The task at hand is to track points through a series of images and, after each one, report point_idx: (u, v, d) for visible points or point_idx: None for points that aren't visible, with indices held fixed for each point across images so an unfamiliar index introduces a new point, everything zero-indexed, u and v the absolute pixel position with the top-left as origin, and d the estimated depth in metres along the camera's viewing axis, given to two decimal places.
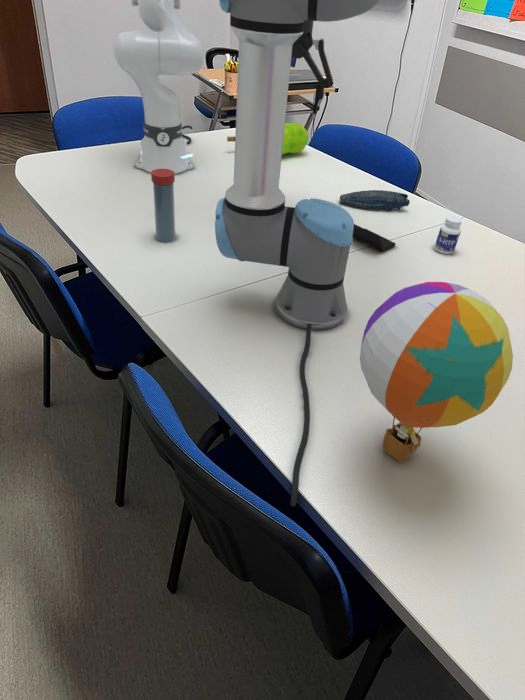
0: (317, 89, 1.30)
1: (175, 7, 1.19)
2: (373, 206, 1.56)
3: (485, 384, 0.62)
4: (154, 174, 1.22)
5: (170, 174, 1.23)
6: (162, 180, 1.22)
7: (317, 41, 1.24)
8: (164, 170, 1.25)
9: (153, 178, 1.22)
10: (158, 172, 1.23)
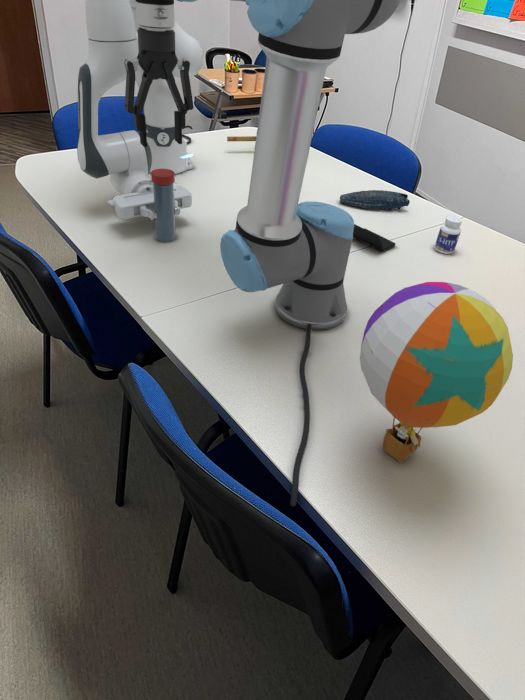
0: None
1: (155, 218, 1.29)
2: (373, 206, 1.56)
3: (485, 384, 0.62)
4: (154, 174, 1.22)
5: (170, 174, 1.23)
6: (162, 180, 1.22)
7: None
8: (164, 170, 1.25)
9: (153, 178, 1.22)
10: (158, 172, 1.23)
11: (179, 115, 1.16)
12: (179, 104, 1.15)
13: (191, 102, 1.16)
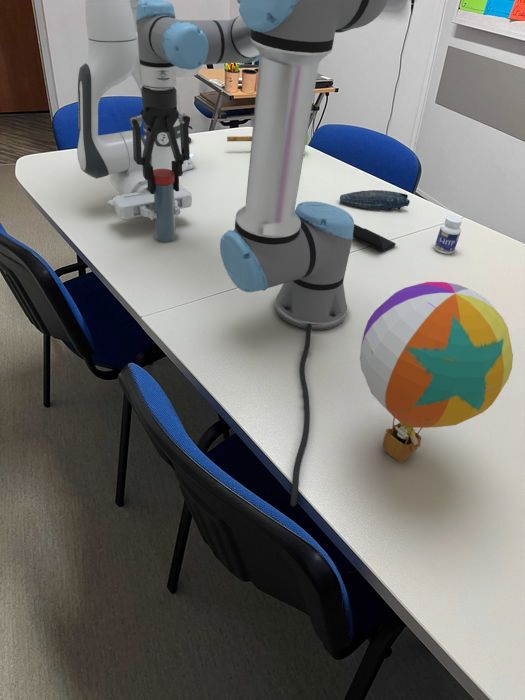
0: None
1: (155, 218, 1.29)
2: (373, 206, 1.56)
3: (485, 384, 0.62)
4: (154, 174, 1.22)
5: (170, 174, 1.23)
6: (162, 180, 1.22)
7: None
8: (164, 170, 1.25)
9: None
10: (158, 172, 1.23)
11: (176, 165, 1.23)
12: (177, 155, 1.21)
13: (188, 153, 1.22)
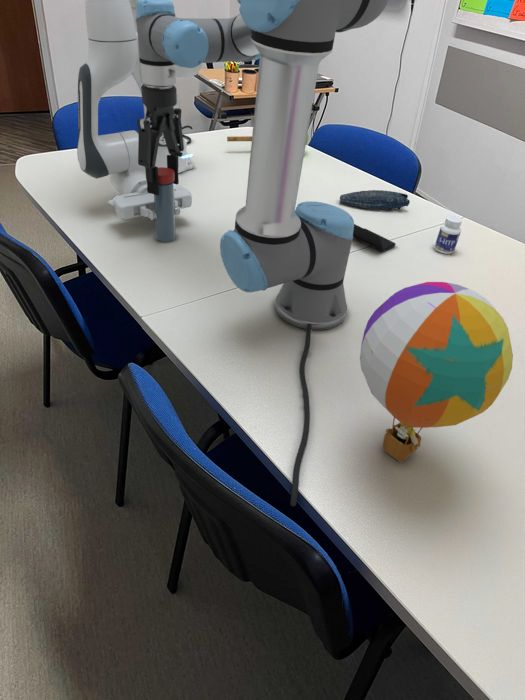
0: None
1: (155, 218, 1.29)
2: (373, 206, 1.56)
3: (485, 384, 0.62)
4: (169, 174, 1.22)
5: (166, 168, 1.25)
6: (173, 175, 1.25)
7: None
8: None
9: (171, 178, 1.23)
10: (163, 172, 1.23)
11: (176, 158, 1.24)
12: (176, 149, 1.23)
13: (182, 144, 1.25)
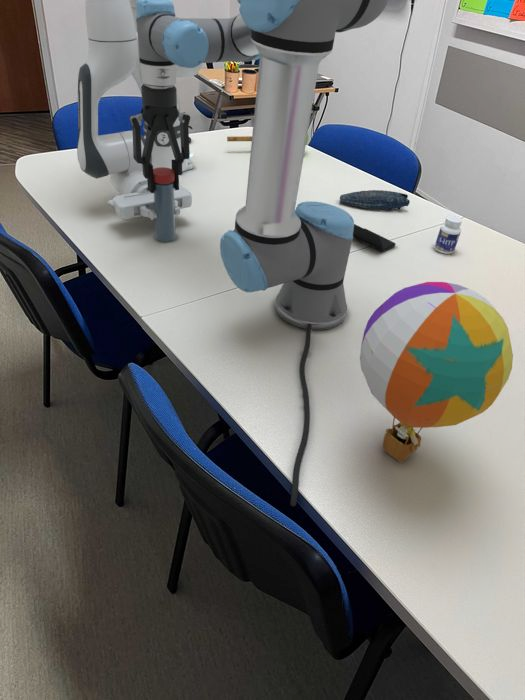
0: None
1: (155, 218, 1.29)
2: (373, 206, 1.56)
3: (485, 384, 0.62)
4: (169, 174, 1.22)
5: (166, 168, 1.25)
6: (173, 175, 1.25)
7: None
8: (156, 170, 1.23)
9: (171, 178, 1.23)
10: (163, 172, 1.23)
11: (176, 164, 1.22)
12: (177, 154, 1.21)
13: (188, 152, 1.22)
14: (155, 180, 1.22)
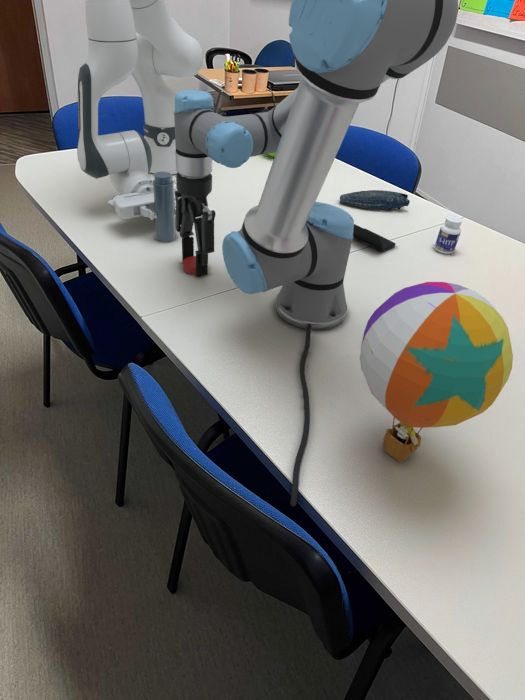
0: (196, 254, 1.17)
1: (155, 218, 1.29)
2: (373, 206, 1.56)
3: (485, 384, 0.62)
4: None
5: (186, 260, 1.22)
6: None
7: (205, 211, 1.09)
8: (195, 264, 1.21)
9: None
10: None
11: None
12: None
13: None
14: None
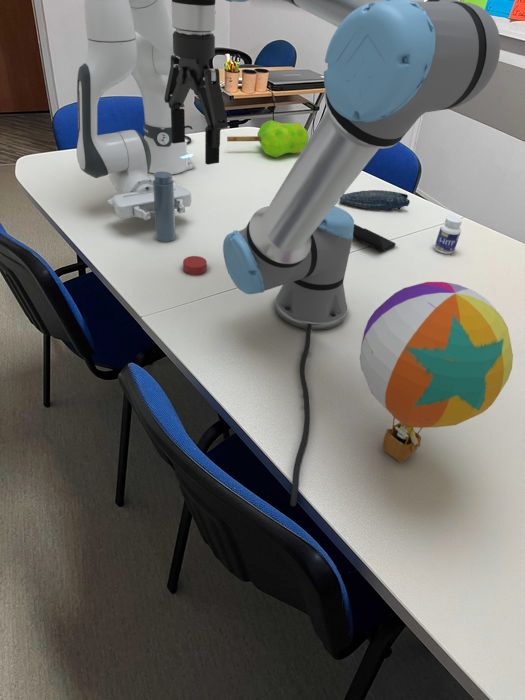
0: (206, 133, 0.97)
1: None
2: (373, 206, 1.56)
3: (485, 384, 0.62)
4: (200, 257, 1.23)
5: (186, 260, 1.22)
6: None
7: None
8: (195, 264, 1.21)
9: None
10: (199, 261, 1.22)
11: None
12: None
13: None
14: (205, 269, 1.22)
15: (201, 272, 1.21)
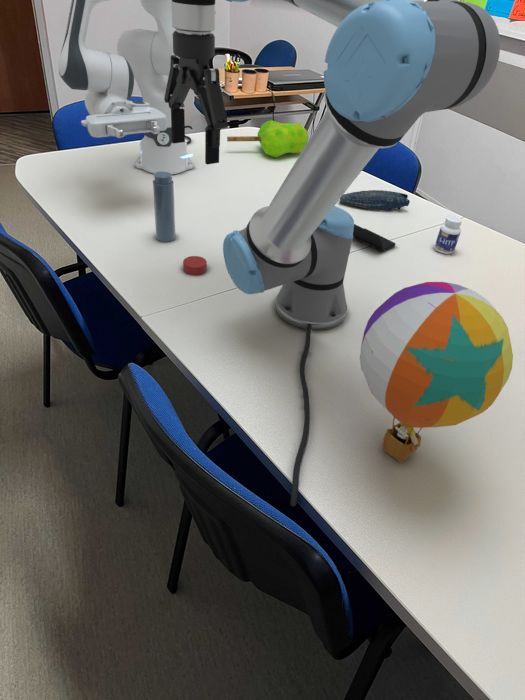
0: (206, 133, 0.97)
1: None
2: (373, 206, 1.56)
3: (485, 384, 0.62)
4: (200, 257, 1.23)
5: (186, 260, 1.22)
6: None
7: None
8: (195, 264, 1.21)
9: None
10: (199, 261, 1.22)
11: None
12: None
13: None
14: (205, 269, 1.22)
15: (201, 272, 1.21)
